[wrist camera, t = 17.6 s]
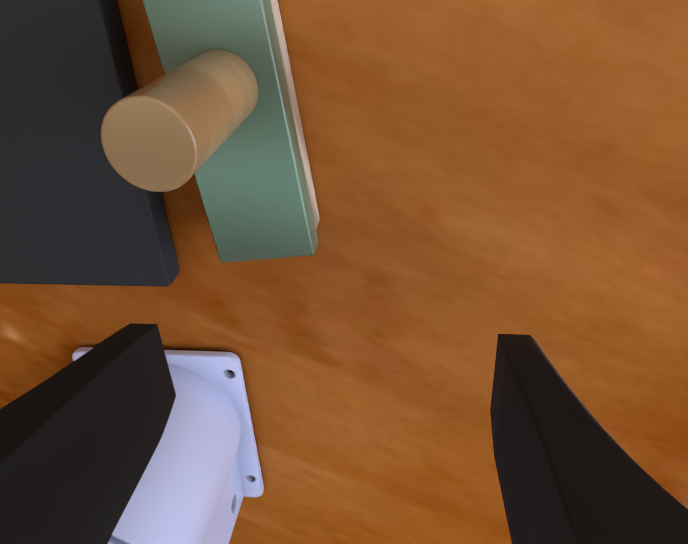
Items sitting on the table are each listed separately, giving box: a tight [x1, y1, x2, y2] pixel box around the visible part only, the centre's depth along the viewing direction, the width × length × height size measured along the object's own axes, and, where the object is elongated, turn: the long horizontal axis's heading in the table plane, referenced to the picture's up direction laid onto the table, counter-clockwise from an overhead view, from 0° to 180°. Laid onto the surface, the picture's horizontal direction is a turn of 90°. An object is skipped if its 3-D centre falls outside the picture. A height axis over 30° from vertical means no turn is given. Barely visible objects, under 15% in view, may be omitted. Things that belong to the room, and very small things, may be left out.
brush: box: [101, 0, 320, 262], centre depth 16 cm, size 12×4×8 cm, turn 9°
